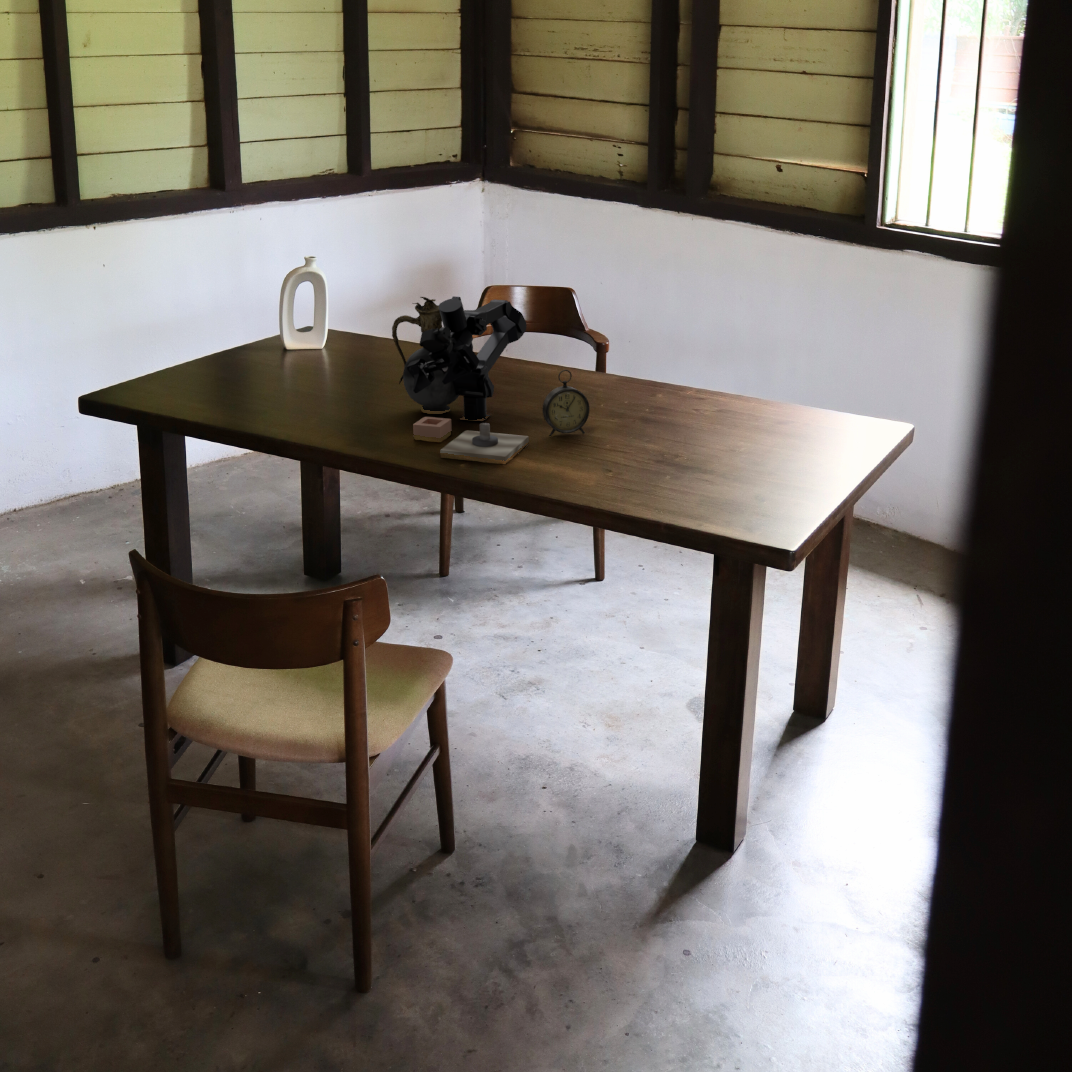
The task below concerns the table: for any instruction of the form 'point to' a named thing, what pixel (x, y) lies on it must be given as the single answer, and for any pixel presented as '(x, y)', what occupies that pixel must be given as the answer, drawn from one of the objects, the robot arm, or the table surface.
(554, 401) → the alarm clock
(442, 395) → the pitcher
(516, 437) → the post stand
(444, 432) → the collar
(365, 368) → the table surface
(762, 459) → the table surface
